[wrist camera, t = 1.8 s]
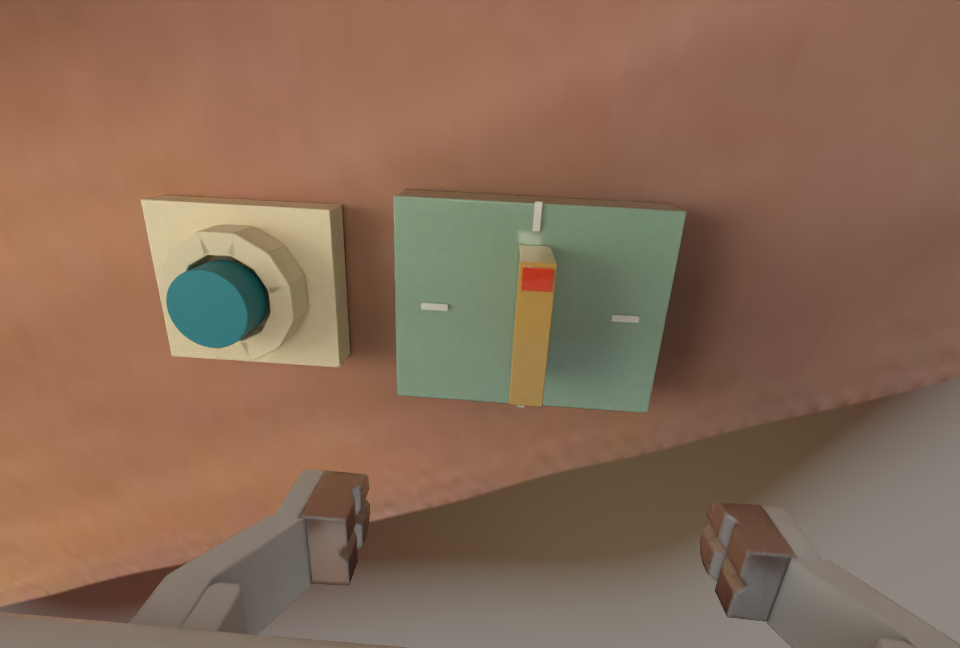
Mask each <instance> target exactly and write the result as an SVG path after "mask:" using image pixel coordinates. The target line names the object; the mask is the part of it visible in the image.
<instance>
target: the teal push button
mask: <svg viewBox="0 0 960 648" xmlns="http://www.w3.org/2000/svg"><path fill="white" fill-rule="evenodd" d="M166 304H167V310H168V313H169V316H170V318H171V320H172V322H173V323H174V325H175V326H176V328H177V329H178V330H179V331H180V332H181V333H182V334H183V335H184V336H185V337H187V338H188V339H189V340H191V341H193V342H195V343H197V344H199V345H202V346H205V347H210V348H223V347H227V346H230V345H232V344H234V343H236V342H237V341H239V340H240V339H241V338H243V337H244V336H245V335H247V334H248V333H249V332H251V331H252V330H253V329H255V328H256V327H257V326H258V325H259V324H260V323H261V322H262V320H263V319H264V317H265V314H266V310H267V297H266V293H265V290H264V288H263V285H262V284H261V282H260V281H259V279H258V278H257V277H256V276H255V275H254V273H253V272H251V271H250V270H249V269H248V268H246V267H245V266H243V265H241V264H239V263H236V262H233V261H229V260H213V261H210V262H207V263H205V264H202V265H200V266H198V267H195V268H193V269H191V270H188V271H186V272H184V273H182V274H180V275H179V276H177V277H176V278H175V279H174V280H173V281H172V283H171V284H170V286H169V288H168V291H167V296H166Z"/></svg>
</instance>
